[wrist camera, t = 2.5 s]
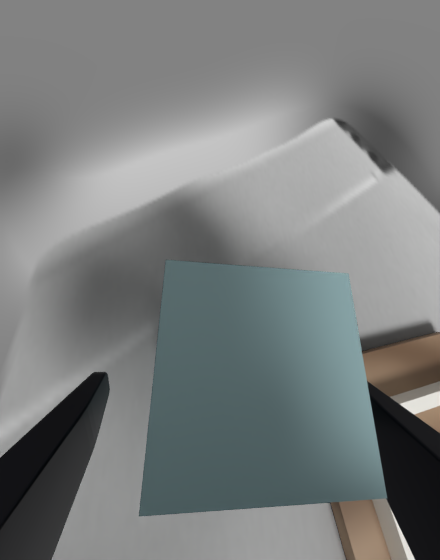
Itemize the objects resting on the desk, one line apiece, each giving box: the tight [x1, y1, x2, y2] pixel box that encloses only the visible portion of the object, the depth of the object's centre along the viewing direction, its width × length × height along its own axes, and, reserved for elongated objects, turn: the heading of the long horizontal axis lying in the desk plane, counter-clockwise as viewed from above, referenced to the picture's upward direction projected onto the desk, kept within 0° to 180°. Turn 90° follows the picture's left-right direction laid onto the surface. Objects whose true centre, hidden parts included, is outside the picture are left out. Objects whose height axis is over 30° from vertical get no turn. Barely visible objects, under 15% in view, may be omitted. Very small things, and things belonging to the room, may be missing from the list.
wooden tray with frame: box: [330, 332, 440, 560], centre depth 15 cm, size 16×14×3 cm
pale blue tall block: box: [139, 260, 387, 516], centre depth 11 cm, size 5×5×12 cm
